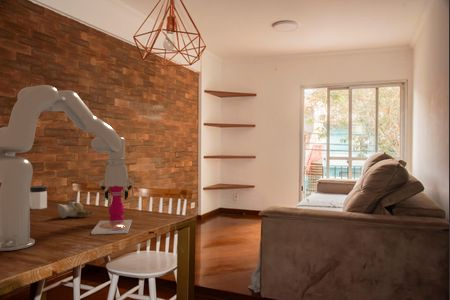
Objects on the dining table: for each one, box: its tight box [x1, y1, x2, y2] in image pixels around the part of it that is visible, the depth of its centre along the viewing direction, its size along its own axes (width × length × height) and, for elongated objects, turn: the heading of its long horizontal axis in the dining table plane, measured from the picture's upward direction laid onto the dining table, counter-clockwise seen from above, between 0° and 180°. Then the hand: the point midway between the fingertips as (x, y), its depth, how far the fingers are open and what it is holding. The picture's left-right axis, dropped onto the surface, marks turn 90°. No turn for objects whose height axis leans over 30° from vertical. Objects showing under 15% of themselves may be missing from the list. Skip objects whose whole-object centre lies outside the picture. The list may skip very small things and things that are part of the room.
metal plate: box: [90, 219, 133, 236], centre depth 149 cm, size 20×14×1 cm
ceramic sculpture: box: [57, 199, 93, 219], centre depth 171 cm, size 11×9×15 cm
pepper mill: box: [108, 186, 125, 220], centre depth 164 cm, size 7×7×20 cm
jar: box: [30, 185, 48, 210], centre depth 193 cm, size 9×8×12 cm
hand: (116, 199), depth 164 cm, fingers open, 7 cm apart
